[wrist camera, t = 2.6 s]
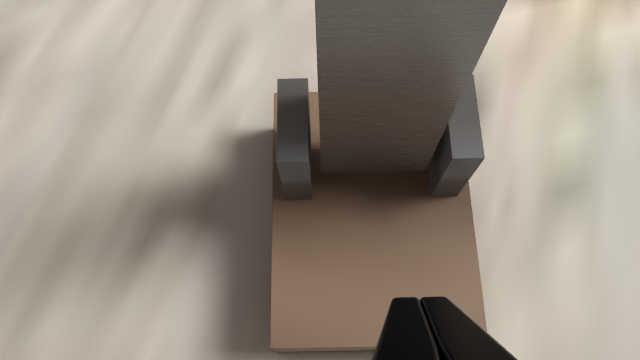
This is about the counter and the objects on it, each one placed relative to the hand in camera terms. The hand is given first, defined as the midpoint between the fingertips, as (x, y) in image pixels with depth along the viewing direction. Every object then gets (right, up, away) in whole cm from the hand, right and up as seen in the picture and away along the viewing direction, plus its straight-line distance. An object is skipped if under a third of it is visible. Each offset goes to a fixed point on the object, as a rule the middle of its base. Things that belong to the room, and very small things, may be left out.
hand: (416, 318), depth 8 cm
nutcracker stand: (0, 0, +10) cm, 10 cm away
